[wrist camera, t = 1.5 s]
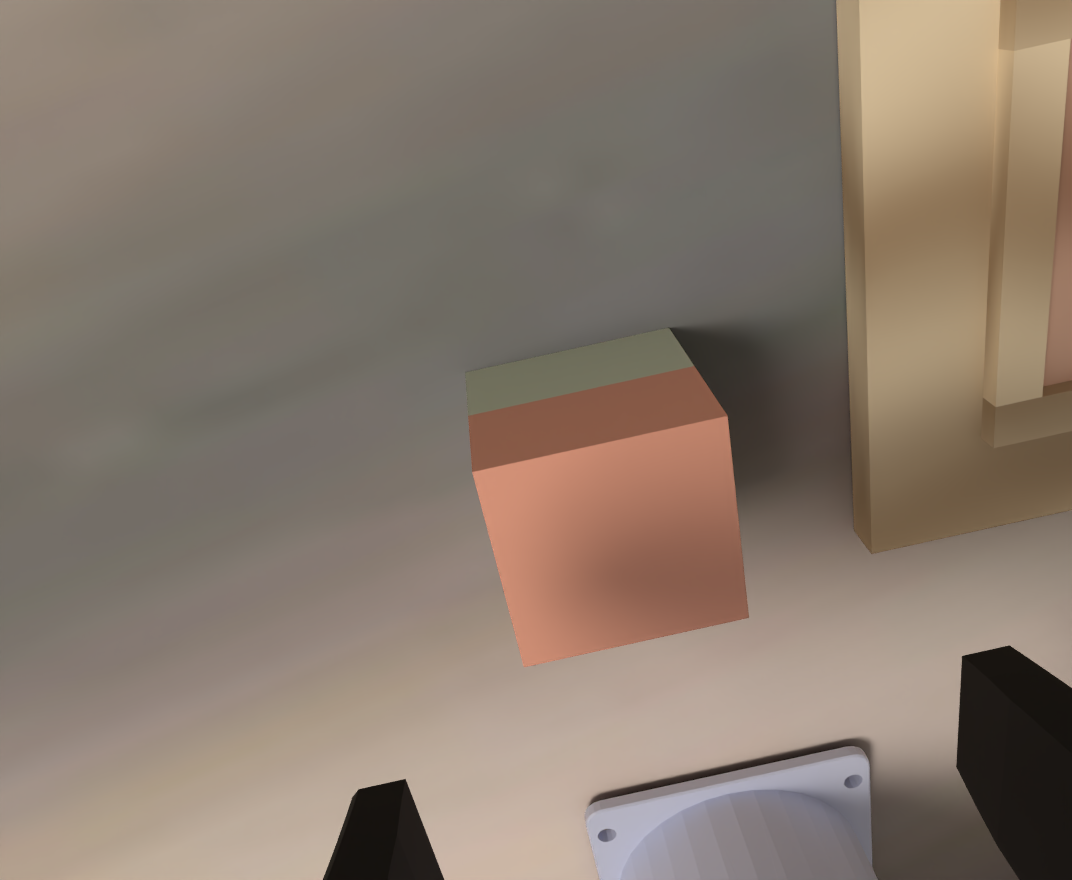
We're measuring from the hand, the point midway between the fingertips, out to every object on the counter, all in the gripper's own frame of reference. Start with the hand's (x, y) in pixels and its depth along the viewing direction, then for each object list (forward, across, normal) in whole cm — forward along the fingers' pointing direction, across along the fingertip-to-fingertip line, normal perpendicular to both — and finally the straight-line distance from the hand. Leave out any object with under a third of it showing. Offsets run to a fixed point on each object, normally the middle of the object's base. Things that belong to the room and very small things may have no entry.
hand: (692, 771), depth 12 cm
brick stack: (+10, 0, 0) cm, 10 cm away
